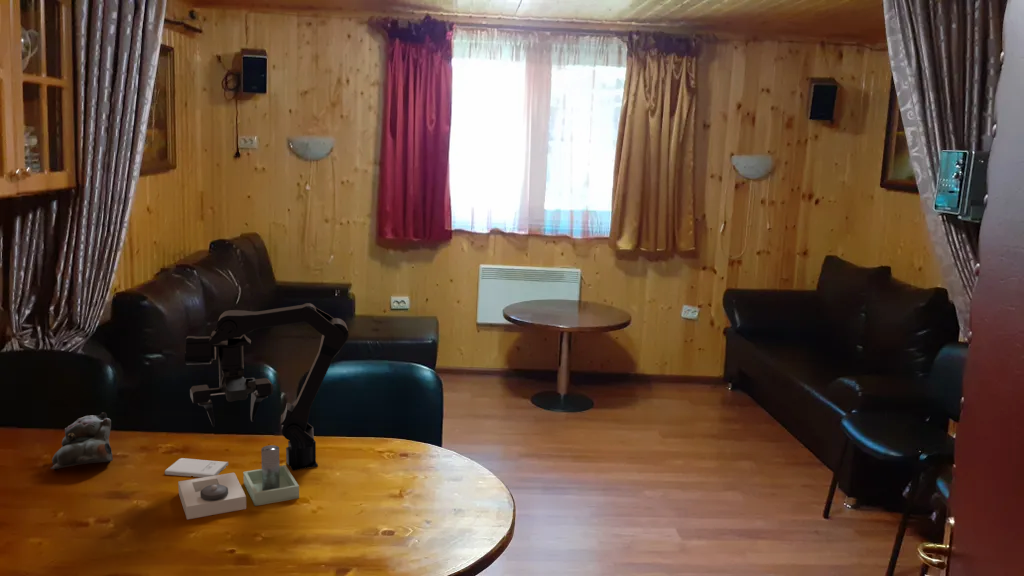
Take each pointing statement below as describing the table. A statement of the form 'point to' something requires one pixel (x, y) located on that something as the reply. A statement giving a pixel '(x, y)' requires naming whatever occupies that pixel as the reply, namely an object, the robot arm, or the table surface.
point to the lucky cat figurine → (85, 442)
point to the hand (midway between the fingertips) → (233, 423)
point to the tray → (260, 497)
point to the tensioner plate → (211, 506)
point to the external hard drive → (196, 468)
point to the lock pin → (270, 467)
